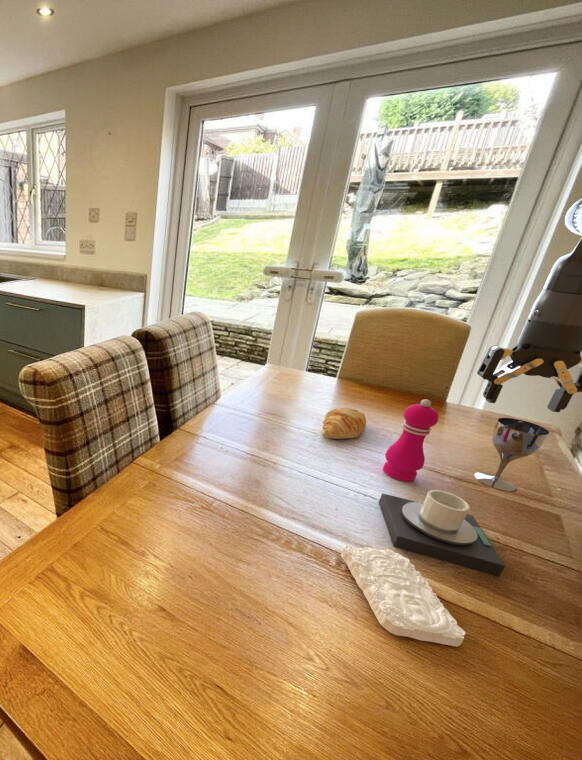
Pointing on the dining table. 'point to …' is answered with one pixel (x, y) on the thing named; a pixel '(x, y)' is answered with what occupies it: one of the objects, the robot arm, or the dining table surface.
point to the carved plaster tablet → (401, 596)
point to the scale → (414, 540)
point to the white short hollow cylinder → (444, 510)
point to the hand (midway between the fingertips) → (520, 405)
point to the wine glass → (512, 447)
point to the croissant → (343, 423)
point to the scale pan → (458, 537)
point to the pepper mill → (410, 442)
